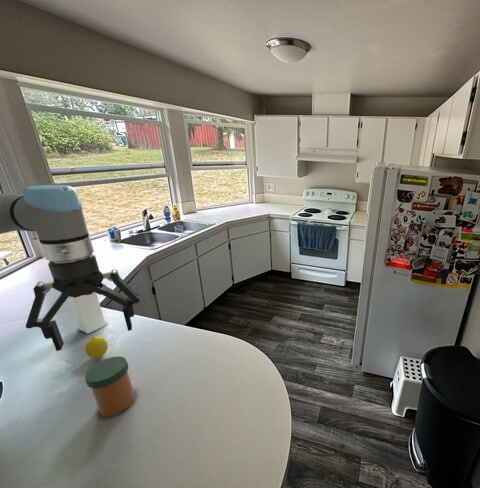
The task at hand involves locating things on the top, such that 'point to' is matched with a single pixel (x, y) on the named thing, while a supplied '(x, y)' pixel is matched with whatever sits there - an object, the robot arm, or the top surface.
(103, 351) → the lemon
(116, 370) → the jar lid
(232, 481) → the top surface
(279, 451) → the top surface
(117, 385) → the jam jar
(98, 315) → the milk
